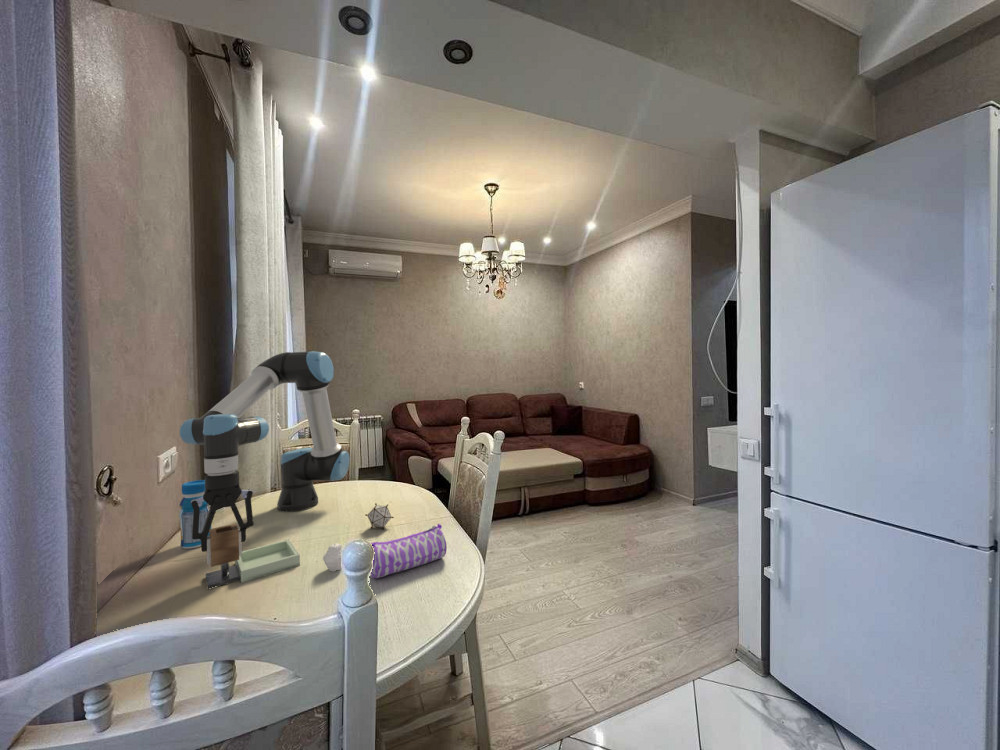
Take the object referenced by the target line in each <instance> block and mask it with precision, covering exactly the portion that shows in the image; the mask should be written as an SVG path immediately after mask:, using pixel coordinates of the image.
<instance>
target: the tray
mask: <svg viewBox="0 0 1000 750" xmlns="http://www.w3.org/2000/svg"><path fill="white" fill-rule="evenodd" d="M300 556H301V555H300V552H298V550H297V549H296V547H295V546H294V545H293V543H292V542H291V540H290V539H285V540H281V541H277V542H273V543H269V544H265V545H262V546H258V547H254V548H249V549H245V550H242V556H239V560H236V561H234V563H235V565H237V567H238V570H239V573H240V579H241V580H240V582H241V583H245V581H246V582H248V581H251V580H255V579H259V578H261V577H266V576H269V575H272V574H275V573H274V572H276V573H278V571H279V572H282V571H286V570H289V569H292V568H295V567H298V566H300V565H301V559H300V558H301V557H300ZM285 569H286V570H285ZM271 573H272V574H271ZM268 574H269V575H268ZM265 575H266V576H265Z"/></svg>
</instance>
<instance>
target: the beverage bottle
mask: <svg viewBox="0 0 1000 750" xmlns="http://www.w3.org/2000/svg"><path fill="white" fill-rule="evenodd" d="M204 493H205V479H198V480H197V479H196V480H192V481H191V480H190V481H186V482H184V483H182V484H181V494H182V496H183V497H182V499H181V500H180V502H179V506H178V507H179V510H180V511H179V512H178V516H179V526H180V548H182V549H185V550H186V549H187V550H188V549H189V550H190V549H196V548H197V549H198V548H201V547H200V546H201V540H200V539H193V538H192V527H193V507H192V505H191V500H192V499H198V498H200V497H203V495H204ZM199 509H200V514H199V533H202V530H203V527H204V524H205V521H206V518H207V515H208V512H209V509H210V505H209V504H208V503H207V502H206V501H203V502H202V506H201V507H199ZM210 529H212V526H211V527H210ZM208 536H209V533H208Z"/></svg>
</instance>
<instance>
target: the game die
mask: <svg viewBox="0 0 1000 750" xmlns="http://www.w3.org/2000/svg"><path fill="white" fill-rule="evenodd" d="M388 506H389V503H388V504H386V505H380V504H378V503H377V502H375V504H374V506H373V508H372V509H371V510H370V511H369V512H368V514H364V516H365V517H366V516H367V517H368V520H369V523H370V525H371V526H370V529H373V528H374V527H375V528H381V529H382V530H383V531H384V529H385V526H386V525H387V524H388V523H389V522H390V520H391V519H394V518H395V517H394V516H392V514H391V513H390V510H389V508H388Z"/></svg>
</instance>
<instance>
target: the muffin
mask: <svg viewBox="0 0 1000 750" xmlns="http://www.w3.org/2000/svg"><path fill="white" fill-rule="evenodd" d="M342 546H343V545H342V544H341V543H333V544H331V545H329V546H328V547H327V551H326V552H325V553H324V555H323V556H322V560H323V562H324V565H325V566H326V567H327V569H328V571H329V572H337V571H336V570H338V571H340V570H341V569H342V568H341V552H342V550H343V549H344V548H343V547H342Z"/></svg>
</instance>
